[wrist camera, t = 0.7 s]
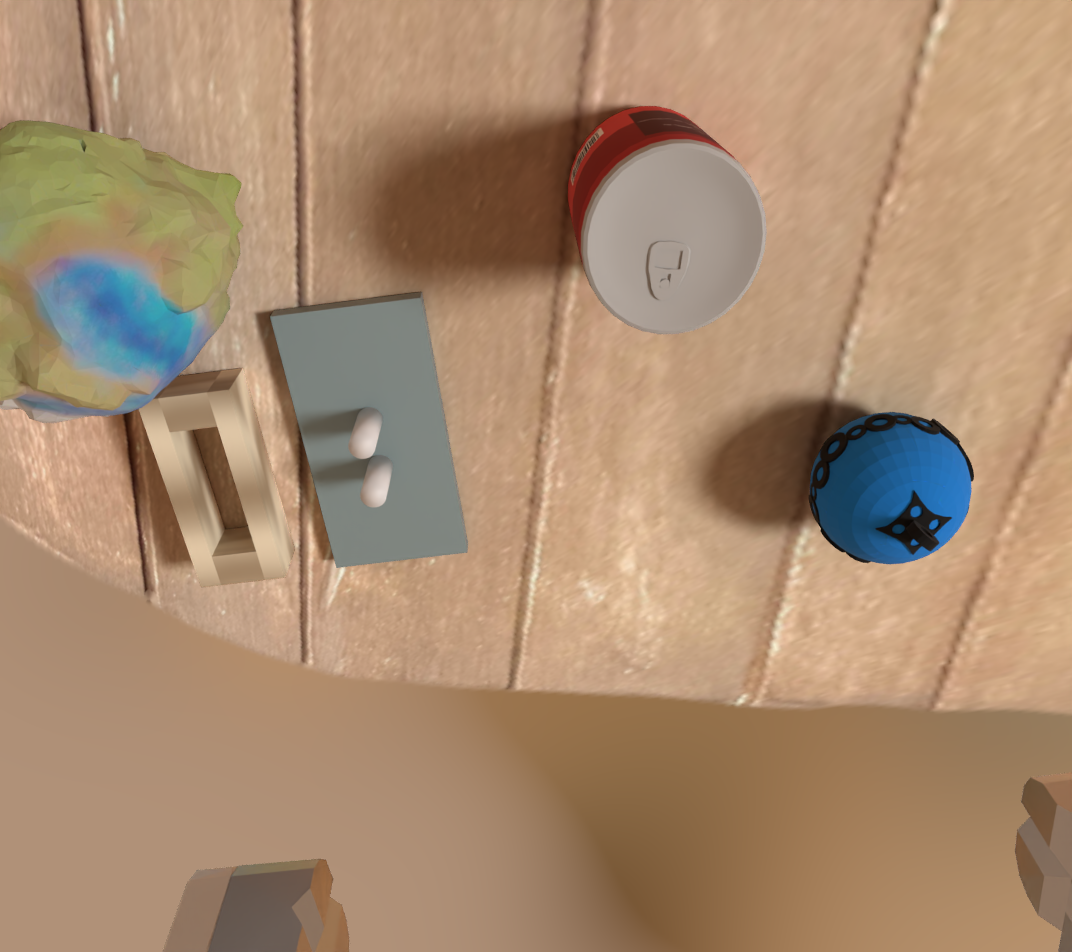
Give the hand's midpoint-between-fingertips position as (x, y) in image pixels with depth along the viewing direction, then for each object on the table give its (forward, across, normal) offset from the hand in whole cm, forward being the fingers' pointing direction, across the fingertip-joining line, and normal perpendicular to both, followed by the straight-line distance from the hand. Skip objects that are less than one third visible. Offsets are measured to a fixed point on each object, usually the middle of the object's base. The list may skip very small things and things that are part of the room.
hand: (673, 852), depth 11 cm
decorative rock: (+42, +22, -1) cm, 48 cm away
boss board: (+42, +11, +13) cm, 46 cm away
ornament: (+42, -17, +18) cm, 49 cm away
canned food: (+42, -5, +1) cm, 42 cm away
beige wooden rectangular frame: (+42, +20, +14) cm, 49 cm away
